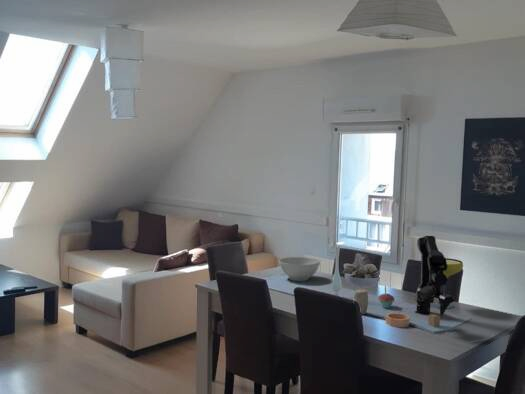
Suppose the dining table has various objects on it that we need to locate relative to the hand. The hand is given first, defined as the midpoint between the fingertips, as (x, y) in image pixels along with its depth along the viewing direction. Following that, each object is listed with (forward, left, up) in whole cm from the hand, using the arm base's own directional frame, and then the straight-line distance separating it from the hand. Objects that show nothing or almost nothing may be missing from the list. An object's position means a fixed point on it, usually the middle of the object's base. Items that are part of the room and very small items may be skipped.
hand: (434, 312), depth 262 cm
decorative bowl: (+7, -115, -8) cm, 115 cm away
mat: (0, 0, -8) cm, 8 cm away
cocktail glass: (-33, -27, -8) cm, 43 cm away
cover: (0, 0, -7) cm, 7 cm away
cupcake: (-3, -39, -8) cm, 40 cm away
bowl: (+12, -12, -8) cm, 19 cm away
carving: (+17, -35, -8) cm, 40 cm away
